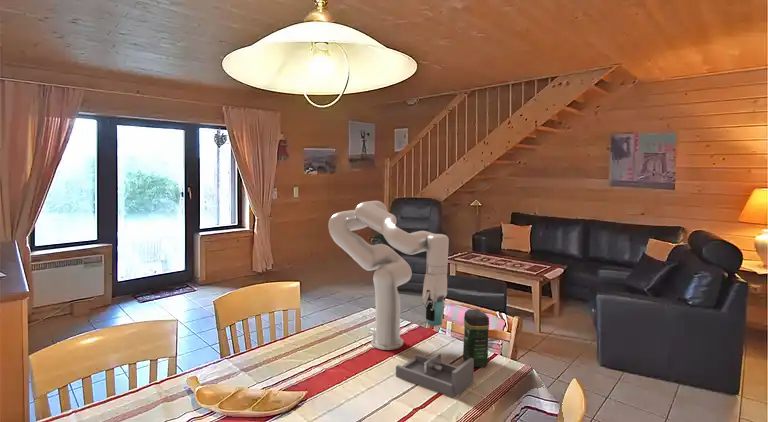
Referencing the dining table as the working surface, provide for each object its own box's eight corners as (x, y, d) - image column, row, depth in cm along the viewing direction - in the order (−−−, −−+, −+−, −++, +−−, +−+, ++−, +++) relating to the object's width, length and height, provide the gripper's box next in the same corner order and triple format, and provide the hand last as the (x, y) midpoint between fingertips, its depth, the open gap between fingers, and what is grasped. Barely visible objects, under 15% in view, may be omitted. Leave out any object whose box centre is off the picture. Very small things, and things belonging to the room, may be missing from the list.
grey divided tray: (395, 376, 147) (396, 353, 146) (416, 363, 156) (416, 341, 155) (454, 398, 133) (455, 373, 132) (473, 382, 143) (473, 358, 142)
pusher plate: (424, 379, 142) (424, 362, 141) (438, 369, 149) (439, 352, 148) (434, 383, 139) (434, 366, 139) (448, 372, 147) (449, 356, 146)
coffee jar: (490, 367, 153) (492, 316, 151) (468, 368, 152) (470, 316, 150) (481, 355, 163) (482, 306, 161) (460, 356, 162) (461, 307, 160)
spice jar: (423, 323, 159) (424, 295, 158) (431, 318, 164) (432, 291, 162) (437, 327, 155) (438, 299, 154) (445, 322, 160) (447, 295, 159)
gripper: (439, 262, 166) (437, 309, 168) (414, 271, 152) (412, 321, 155) (457, 266, 162) (455, 313, 164) (433, 275, 148) (431, 327, 150)
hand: (434, 317), depth 159 cm, fingers closed on spice jar, 5 cm apart
